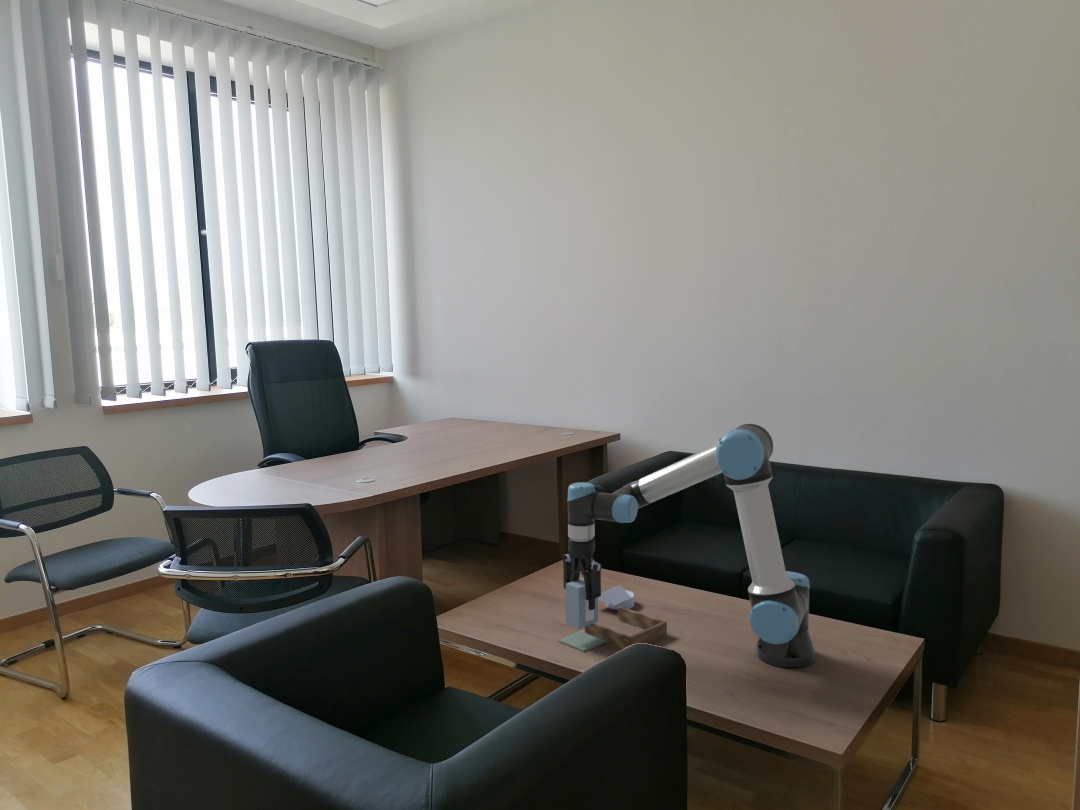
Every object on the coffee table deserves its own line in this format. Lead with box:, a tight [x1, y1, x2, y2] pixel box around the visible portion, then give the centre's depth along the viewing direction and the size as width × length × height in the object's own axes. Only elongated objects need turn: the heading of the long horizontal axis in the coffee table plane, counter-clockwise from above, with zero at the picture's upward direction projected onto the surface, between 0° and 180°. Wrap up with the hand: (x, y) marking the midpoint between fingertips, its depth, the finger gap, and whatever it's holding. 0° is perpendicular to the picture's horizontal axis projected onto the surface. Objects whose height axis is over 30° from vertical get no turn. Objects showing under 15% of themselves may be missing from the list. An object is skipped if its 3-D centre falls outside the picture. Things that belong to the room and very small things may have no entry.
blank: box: [565, 577, 599, 630], centre depth 225 cm, size 5×8×12 cm, turn 133°
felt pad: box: [557, 629, 606, 653], centre depth 226 cm, size 10×10×1 cm
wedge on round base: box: [598, 584, 635, 611], centre depth 252 cm, size 9×7×13 cm
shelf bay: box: [584, 607, 668, 650], centre depth 230 cm, size 18×16×4 cm
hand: (582, 617), depth 225 cm, fingers closed on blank, 5 cm apart
